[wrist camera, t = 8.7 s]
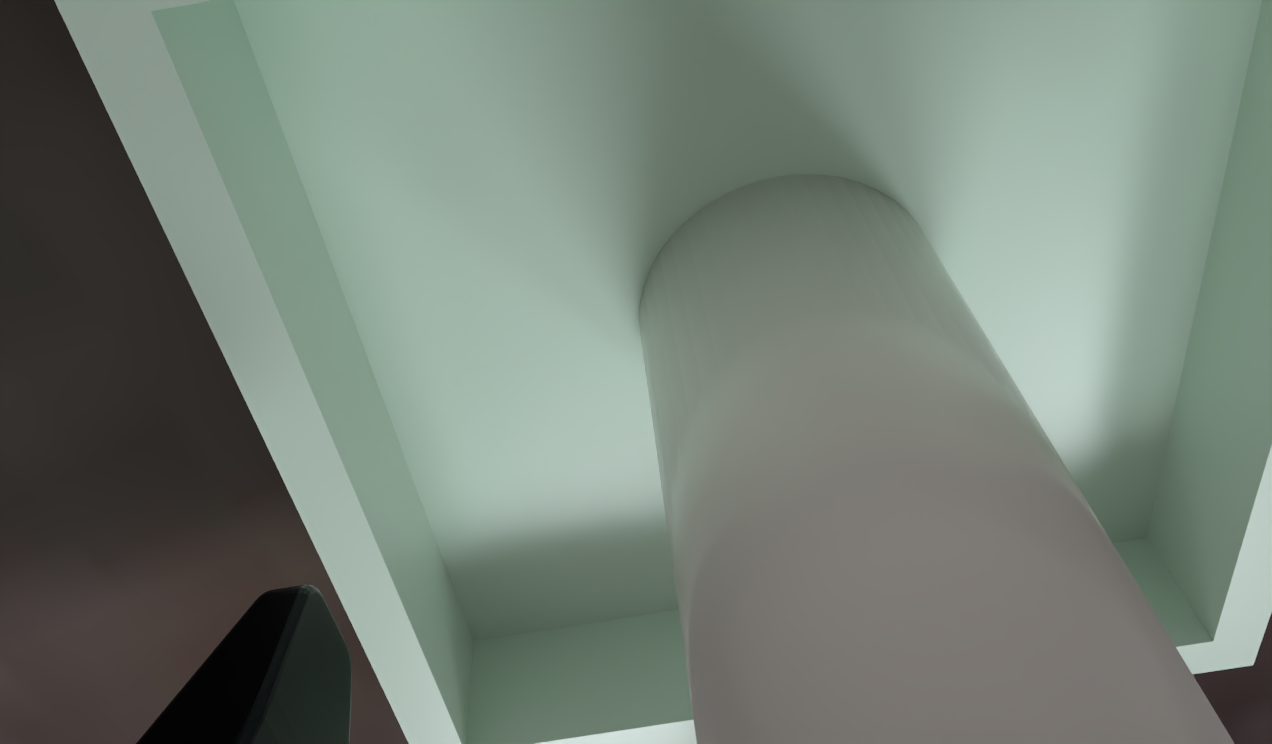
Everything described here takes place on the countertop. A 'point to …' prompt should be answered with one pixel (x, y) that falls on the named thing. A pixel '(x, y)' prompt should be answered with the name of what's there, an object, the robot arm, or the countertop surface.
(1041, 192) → the tray
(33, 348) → the countertop surface
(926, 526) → the cylinder
